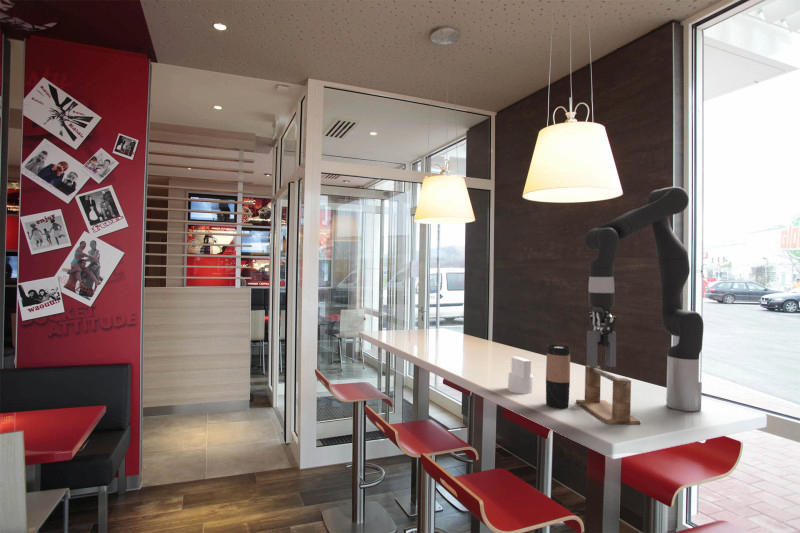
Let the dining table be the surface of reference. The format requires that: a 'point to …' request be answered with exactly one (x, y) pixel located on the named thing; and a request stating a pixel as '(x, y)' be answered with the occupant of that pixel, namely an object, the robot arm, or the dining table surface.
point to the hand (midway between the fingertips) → (601, 345)
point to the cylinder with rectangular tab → (520, 376)
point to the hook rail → (603, 409)
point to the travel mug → (557, 376)
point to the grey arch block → (609, 350)
